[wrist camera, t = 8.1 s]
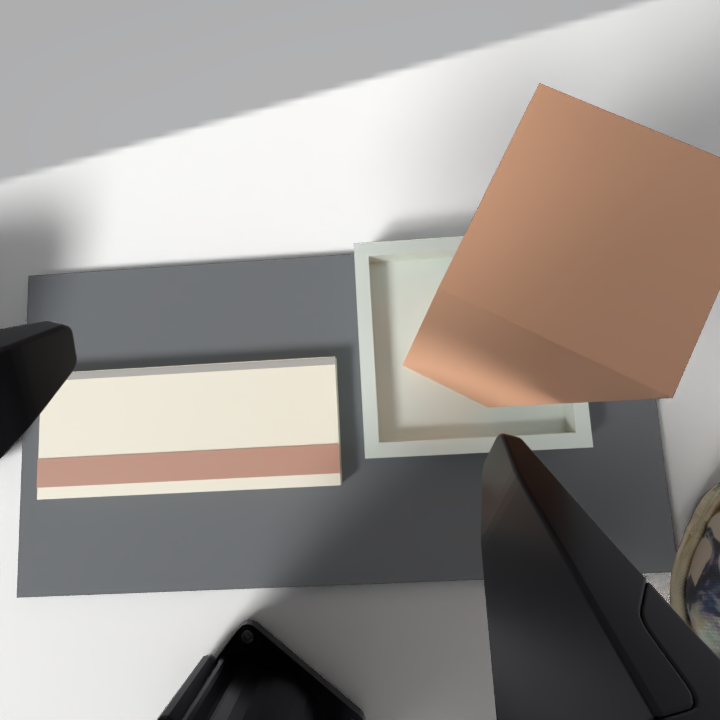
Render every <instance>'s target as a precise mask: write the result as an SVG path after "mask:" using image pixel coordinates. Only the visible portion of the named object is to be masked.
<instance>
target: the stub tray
mask: <svg viewBox="0 0 720 720" xmlns="http://www.w3.org/2000/svg"><path fill="white" fill-rule="evenodd" d="M463 237H464V236H454V237H439V238H425V239H410V240H395V241H381V242H366V243H354V260H355V279H356V297H357V316H358V335H359V353H360V372H361V391H362V410H363V428H364V447H365V459H368V458H388V457H408V456H428V455H448V454H469V453H489V452H490V450H491V448H492V445H493V443H494V441H495V439H496V438H497V436H498V435H499V434H501V433H504V434H508V435H513V436H517V437H519V438H521V439H522V440H523V441H524V442H525V443H526V444H527V445H528V447H529V448H530V449H531V450H549V449H569V448H589V447H593V440H592V432H591V423H590V414H589V405H588V402H583V403H563V404H544V405H524V406H504V407H486V406H484V405H482V404H480V403H478V402H476V401H474V400H472V399H470V398H468V397H466V396H464V395H462V394H460V393H458V392H455V391H453V390H451V389H449V388H447V387H445V386H443V385H441V384H439V383H437V382H435V381H433V380H431V379H429V378H427V377H425V376H423V375H421V374H419V373H417V372H415V371H413V370H411V369H409V368H406V367H404V366H402V365H403V363H404V361H405V358H406V356H407V354H408V352H409V350H410V348H411V346H412V343H413V341H414V339H415V337H416V335H417V333H418V330H419V328H420V326H421V324H422V322H423V320H424V317H425V315H426V313H427V311H428V309H429V307H430V305H431V302H432V300H433V298H434V296H435V294H436V292H437V289H438V287H439V285H440V283H441V281H442V279H443V277H444V275H445V273H446V271H447V269H448V267H449V265H450V263H451V261H452V259H453V257H454V255H455V253H456V251H457V249H458V247H459V245H460V243H461V241H462V239H463Z"/></svg>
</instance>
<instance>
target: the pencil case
mask: <svg viewBox="0 0 720 720" xmlns="http://www.w3.org/2000/svg"><path fill="white" fill-rule="evenodd" d="M670 606H671V607H672V608H673V609H674V610H675V611H676V613H677V614H678V615H679V616H680V617H681V618H682V619H683V620H684V621H685V622H686V623H687V625H688V626H689V627H690V628H691V629H692V630H693V631H694V632H695V633H696V634H697V635H698V636H699V637H700V638H701V639H702V640H703V641H704V643H705V644H706V645H707V646H708V647H709V648H710V649H711V650H712V651H713V652H714V653H715V654H716V655H717V656H718V657H719V658H720V483H718V484H717V485H715V486H714V487H713V488H711V489H710V490H709V491H708V492H707V493H706V494H705V495H704V496H703V498H702V499H701V501H700V503H699V504H698V506H697V508H696V510H695V512H694V514H693V516H692V518H691V520H690V522H689V524H688V526H687V528H686V530H685V533H684V536H683V538H682V541H681V543H680V546H679V549H678V551H677V554H676V557H675V561H674V564H673V568H672V573H671V580H670Z"/></svg>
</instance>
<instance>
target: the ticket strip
mask: <svg viewBox="0 0 720 720" xmlns="http://www.w3.org/2000/svg"><path fill="white" fill-rule="evenodd" d="M341 484H342V463H341V442H340V421H339V400H338V379H337V359H336V357H335V356H333V357H316V358H299V359H282V360H265V361H248V362H231V363H214V364H197V365H180V366H163V367H146V368H128V369H111V370H94V371H77V372H72V373H71V375H70V376H69V377H68V378H67V380H66V381H65V382H64V384H63V385H62V386H61V388H60V389H59V390H58V392H57V393H56V394H55V395H54V397H53V398H52V399H51V401H50V402H49V403H48V405H47V406H46V407H45V409H44V410H43V411H42V412H41V414H40V422H39V453H38V462H37V500H41V499H62V498H84V497H105V496H126V495H147V494H168V493H189V492H210V491H231V490H252V489H273V488H294V487H315V486H337V485H341Z"/></svg>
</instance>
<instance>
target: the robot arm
mask: <svg viewBox="0 0 720 720" xmlns="http://www.w3.org/2000/svg"><path fill="white" fill-rule="evenodd" d="M76 363H77V355H76V349H75V343H74V337H73V332H72V329H71V328H70V327H69V326H68V325H66V324H62V323H58V322H54V321H41V322H36V323H31V324H25V325H20V326H15V327H10V328H5V329H0V459H1V457H2V456H3V455H4V454H5V453H6V452H7V451H8V450H9V449H10V448H11V447H12V446H13V445H14V444H15V443H16V442H17V441H18V439H19V438H20V437H21V436H22V435H23V434H24V433H25V432H26V431H27V430H28V429H29V427H30V426H31V425H32V424H33V423H34V421H35V420H36V419H37V418H38V416H39V415H40V414H41V412H42V411H43V410H44V409H45V407H46V406H47V405H48V403H49V402H50V401H51V399H52V398H53V397H54V395H55V394H56V393H57V392H58V390H59V389H60V388H61V386H62V385H63V384H64V382H65V381H66V380H67V378H68V377H69V376H70V375H71V373H72V372H73V370H74V369H75V367H76ZM481 552H482V563H483V574H484V585H485V596H486V607H487V618H488V629H489V640H490V651H491V662H492V673H493V684H494V695H495V706H496V717H497V720H720V658H719V657H718V656H717V655H716V654H715V653H714V652H713V651H712V650H711V649H710V648H709V647H708V646H707V645H706V644H705V643H704V641H703V640H702V639H701V638H700V637H699V636H698V635H697V634H696V633H695V632H694V631H693V630H692V629H691V628H690V627H689V626H688V625H687V623H686V622H685V621H684V620H683V619H682V618H681V617H680V616H679V615H678V614H677V613H676V611H675V610H674V609H673V608H672V607H671V606H670V605H669V604H668V603H667V602H666V600H665V599H664V598H663V597H662V596H661V595H660V594H659V593H658V591H657V590H656V589H655V588H654V587H653V586H652V585H651V584H650V583H646V578H645V577H644V576H643V575H642V574H641V573H640V571H639V570H638V569H637V568H636V567H635V566H634V565H633V564H632V562H631V561H630V560H629V559H628V558H627V557H626V556H625V555H624V553H623V552H622V551H621V550H620V549H619V548H618V547H617V546H616V544H615V543H614V542H613V541H612V540H611V539H610V538H609V537H608V535H607V534H606V533H605V532H604V531H603V530H602V529H601V528H600V526H599V525H598V524H597V523H596V522H595V521H594V520H593V519H592V517H591V516H590V515H589V514H588V513H587V512H586V511H585V510H584V508H583V507H582V506H581V505H580V504H579V503H578V502H577V501H576V499H575V498H574V497H573V496H572V495H571V494H570V493H569V492H568V490H567V489H566V488H565V487H564V486H563V485H562V484H561V483H560V481H559V480H558V479H557V478H556V477H555V476H554V475H553V474H552V472H551V471H550V470H549V469H548V468H547V467H546V466H545V465H544V463H543V462H542V461H541V460H540V459H539V458H538V457H537V456H536V454H535V453H534V452H533V451H532V450H531V449H530V448H529V447H528V445H527V444H526V443H525V442H524V441H523V440H522V439H521V438H519V437H517V436H513V435H508V434H504V433H501V434H499V435H498V436H497V438H496V439H495V441H494V443H493V445H492V448H491V450H490V452H489V454H488V456H487V458H486V460H485V462H484V466H483V471H482V503H481ZM246 630H249V631H251V632H252V634H253V638H250V639H249V638H247V637H246V636H245V635H244V631H246ZM157 720H365V716H364V713H363V712H362V711H361V710H360V709H359V708H358V707H357V706H356V705H354V704H353V703H352V702H351V701H350V700H349V699H347V698H346V697H345V696H344V695H343V694H341V693H340V692H339V691H338V690H337V689H336V688H334V687H333V686H332V685H331V684H330V683H328V682H327V681H326V680H325V679H324V678H323V677H321V676H320V675H319V674H318V673H317V672H315V671H314V670H313V669H312V668H311V667H310V666H308V665H307V664H306V663H305V662H304V661H302V660H301V659H300V658H299V657H298V656H297V655H295V654H294V653H293V652H292V651H291V650H289V649H288V648H287V647H286V646H285V645H284V644H282V643H281V642H280V641H279V640H278V639H276V638H275V637H274V636H273V635H272V634H271V633H269V632H268V631H267V630H266V629H265V628H263V627H262V626H261V625H260V624H259V623H258V622H256V621H254V620H247V621H244V622H243V623H242V624H241V625H240V627H239V628H238V629H237V631H236V632H235V633H234V635H233V636H232V637H231V639H230V640H229V641H228V643H227V644H226V645H225V647H224V648H223V650H222V651H221V652H220V654H219V655H218V656H217V658H216V659H215V658H214V657H213V656H212V655H207V656H204V657H203V658H202V659H201V661H200V662H199V663H198V665H197V666H196V667H195V669H194V670H193V671H192V673H191V674H190V675H189V677H188V678H187V679H186V681H185V682H184V683H183V685H182V686H181V688H180V689H179V690H178V692H177V693H176V694H175V696H174V697H173V698H172V700H171V701H170V702H169V704H168V705H167V706H166V708H165V709H164V711H163V712H162V713H161V715H160V716H159V717H158V719H157Z"/></svg>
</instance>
